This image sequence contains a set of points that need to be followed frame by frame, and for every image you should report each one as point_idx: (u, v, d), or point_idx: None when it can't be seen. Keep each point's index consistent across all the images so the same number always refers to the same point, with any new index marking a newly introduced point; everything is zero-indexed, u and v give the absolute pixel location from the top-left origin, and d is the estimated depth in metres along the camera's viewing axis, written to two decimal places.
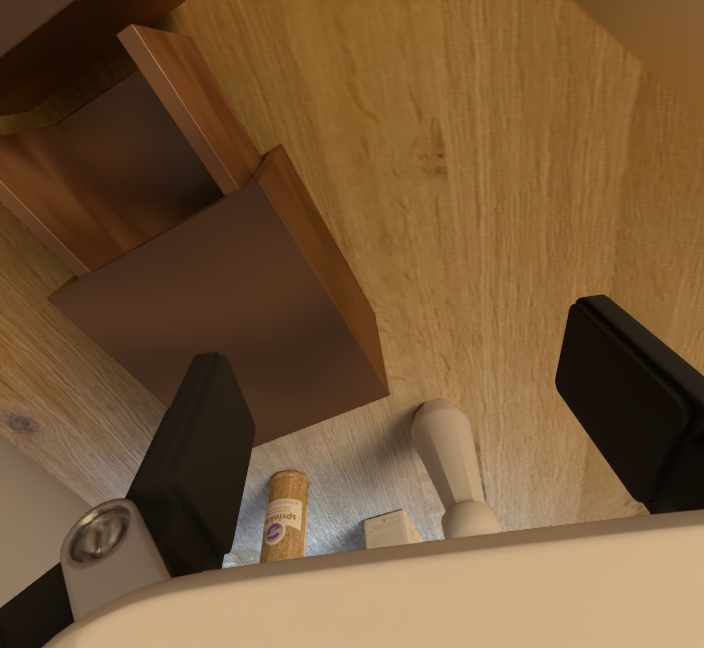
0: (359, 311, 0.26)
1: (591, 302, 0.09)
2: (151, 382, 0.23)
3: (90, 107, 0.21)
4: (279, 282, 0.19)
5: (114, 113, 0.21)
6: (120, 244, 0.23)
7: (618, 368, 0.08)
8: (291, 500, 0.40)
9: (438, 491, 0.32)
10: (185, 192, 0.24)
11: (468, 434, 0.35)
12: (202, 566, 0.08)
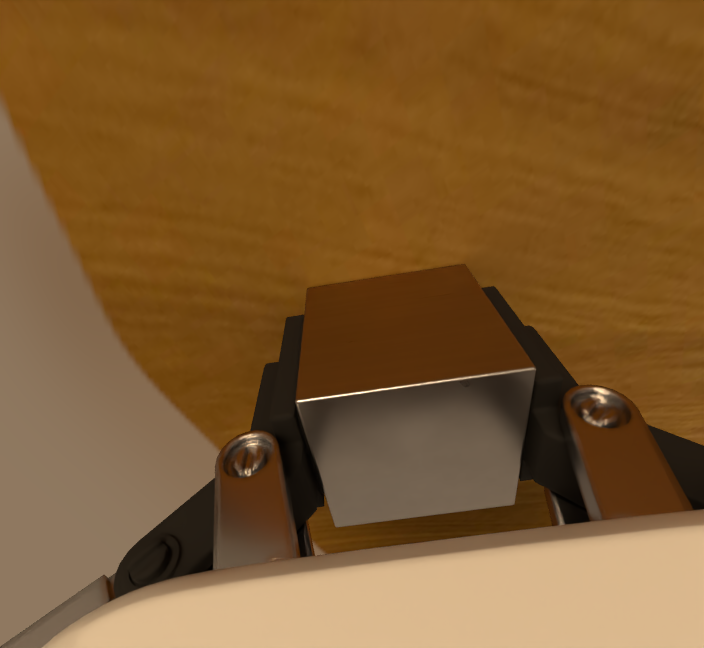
0: None
1: None
2: None
3: None
4: None
5: None
6: None
7: None
8: None
9: None
10: None
11: None
12: (316, 498, 0.09)
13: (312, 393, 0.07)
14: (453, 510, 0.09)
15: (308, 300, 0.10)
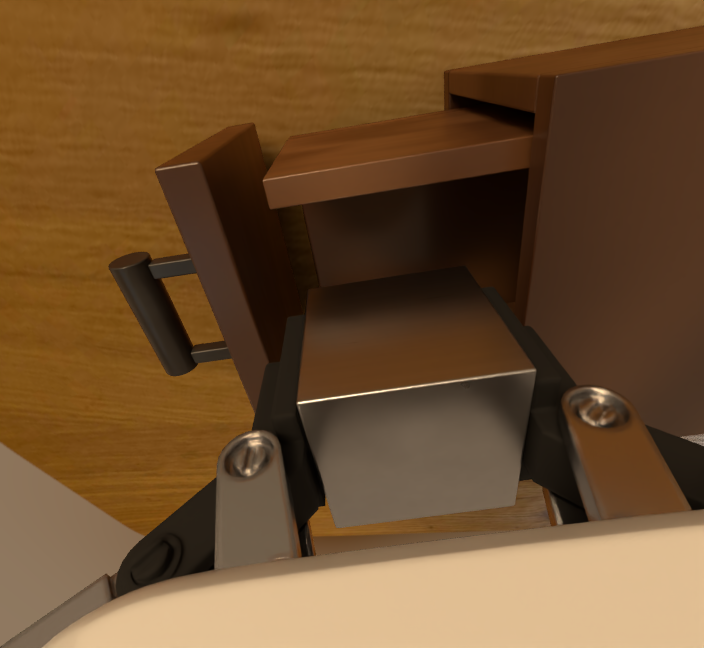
0: None
1: None
2: (693, 425, 0.14)
3: None
4: None
5: (337, 268, 0.18)
6: None
7: None
8: None
9: None
10: (445, 238, 0.18)
11: None
12: (317, 497, 0.09)
13: (313, 394, 0.07)
14: (453, 510, 0.09)
15: (309, 301, 0.10)
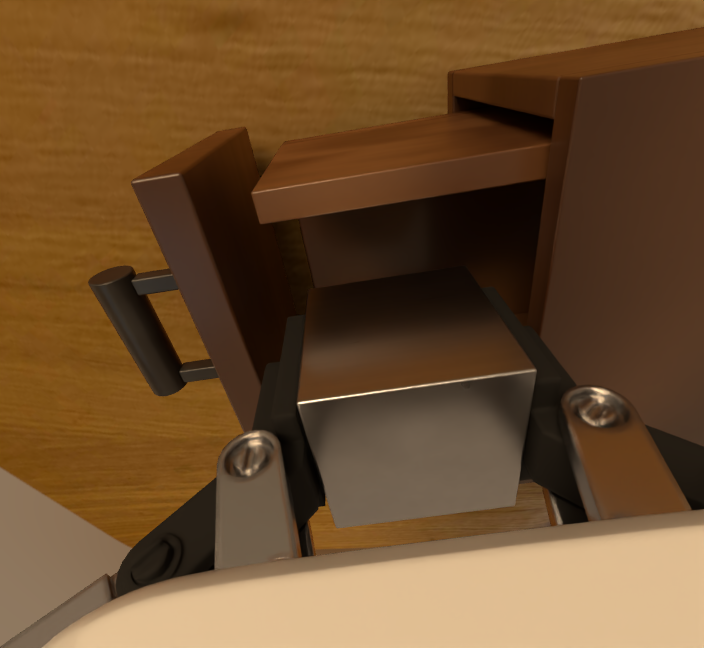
0: None
1: None
2: None
3: None
4: None
5: (335, 279, 0.17)
6: None
7: None
8: None
9: None
10: (449, 248, 0.17)
11: None
12: (317, 497, 0.09)
13: (313, 394, 0.07)
14: (453, 511, 0.09)
15: (309, 301, 0.10)
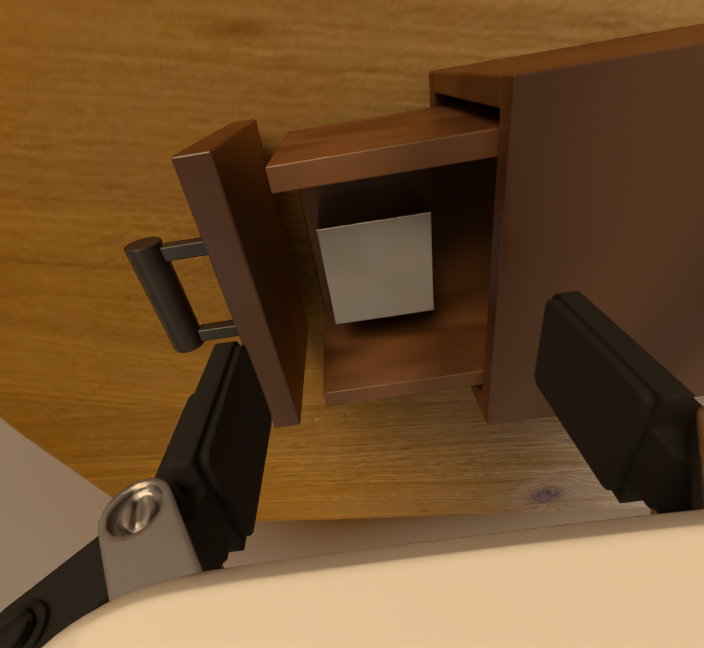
0: None
1: (565, 298, 0.09)
2: None
3: (321, 273, 0.20)
4: (683, 127, 0.10)
5: None
6: (458, 323, 0.19)
7: (588, 361, 0.08)
8: None
9: None
10: (433, 226, 0.19)
11: None
12: (228, 546, 0.08)
13: (324, 226, 0.15)
14: (400, 312, 0.17)
15: (320, 201, 0.18)
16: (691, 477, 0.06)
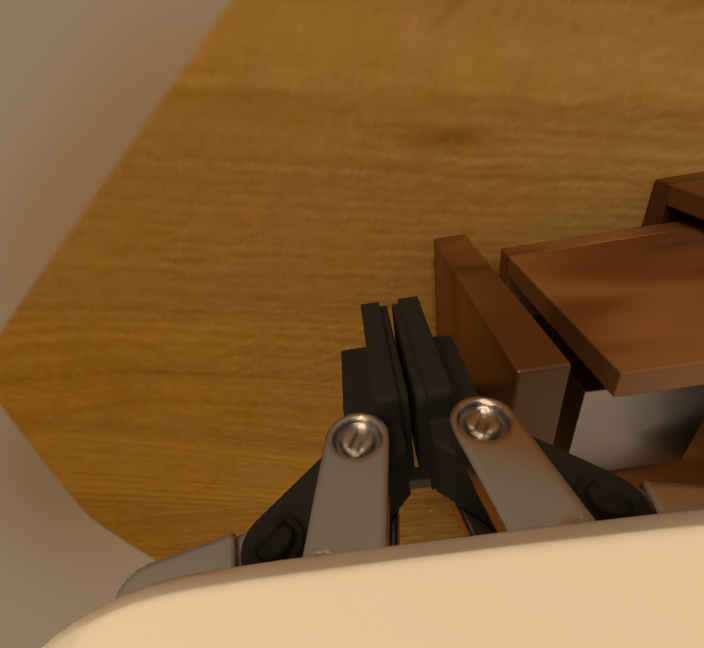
0: None
1: (401, 303, 0.10)
2: None
3: None
4: None
5: None
6: None
7: (404, 360, 0.09)
8: None
9: None
10: None
11: None
12: None
13: (592, 387, 0.12)
14: (641, 464, 0.14)
15: None
16: (474, 486, 0.07)
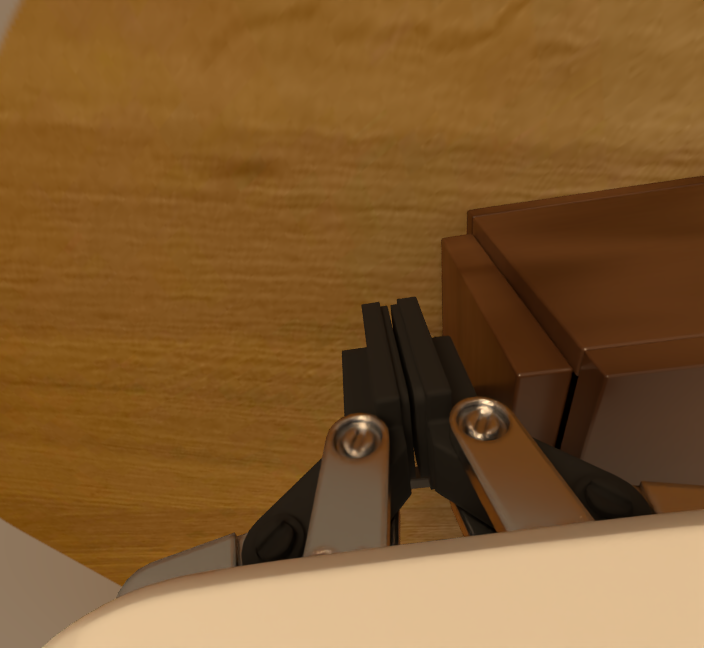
0: None
1: (400, 303, 0.10)
2: None
3: None
4: None
5: None
6: None
7: (403, 361, 0.09)
8: None
9: None
10: None
11: None
12: None
13: None
14: None
15: None
16: (474, 486, 0.07)
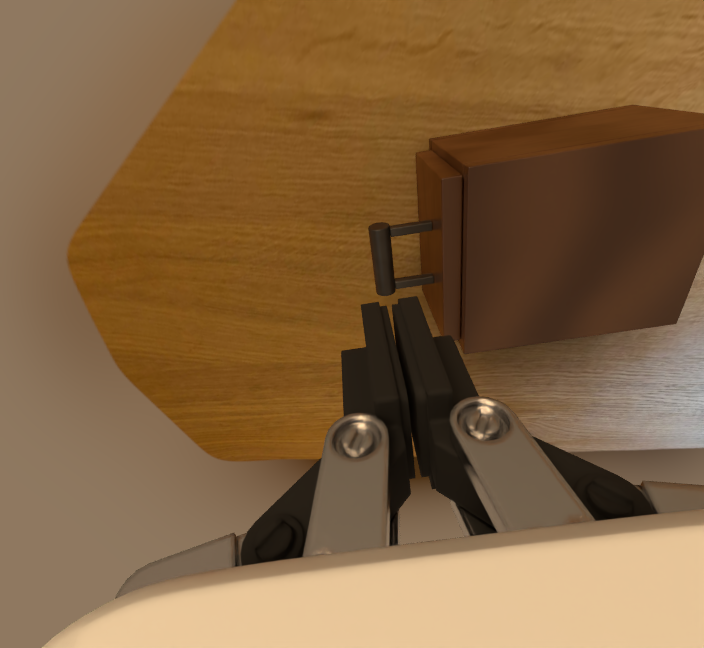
0: (623, 121, 0.23)
1: (401, 303, 0.10)
2: (563, 333, 0.26)
3: None
4: (552, 188, 0.21)
5: None
6: None
7: (404, 360, 0.09)
8: None
9: None
10: None
11: None
12: None
13: None
14: None
15: None
16: (475, 486, 0.07)
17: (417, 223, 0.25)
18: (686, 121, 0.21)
